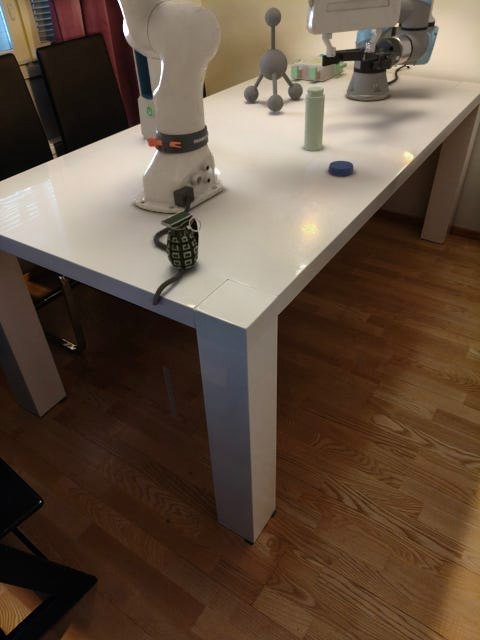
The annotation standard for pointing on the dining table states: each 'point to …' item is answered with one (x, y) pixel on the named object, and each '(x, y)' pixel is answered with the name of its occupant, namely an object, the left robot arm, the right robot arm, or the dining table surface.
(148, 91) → the electronic device
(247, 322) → the dining table surface
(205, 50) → the left robot arm
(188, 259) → the grenade
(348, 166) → the lid
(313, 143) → the jar
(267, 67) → the molecular model
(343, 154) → the dining table surface
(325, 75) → the decorative block
